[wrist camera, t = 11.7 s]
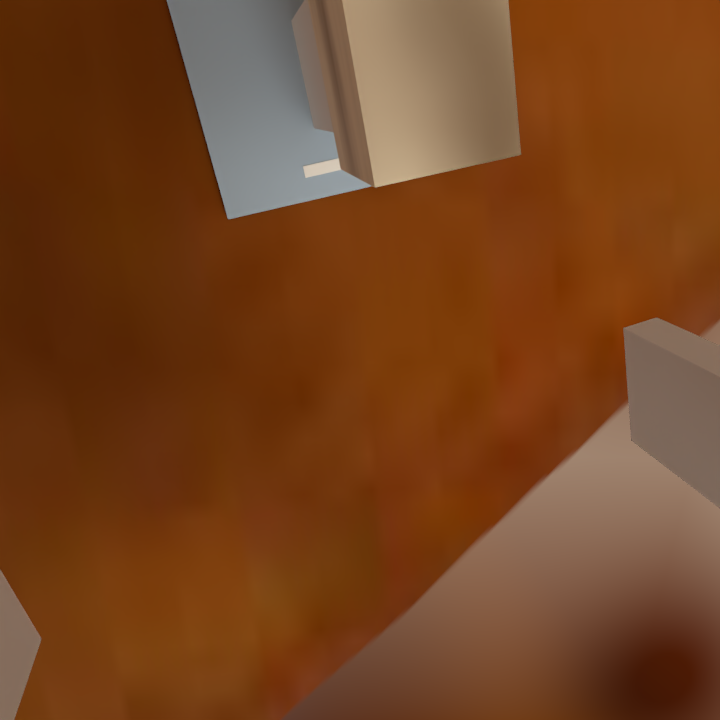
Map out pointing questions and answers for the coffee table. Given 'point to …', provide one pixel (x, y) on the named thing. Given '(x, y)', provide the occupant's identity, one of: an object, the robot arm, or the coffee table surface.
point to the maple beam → (417, 85)
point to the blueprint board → (260, 101)
